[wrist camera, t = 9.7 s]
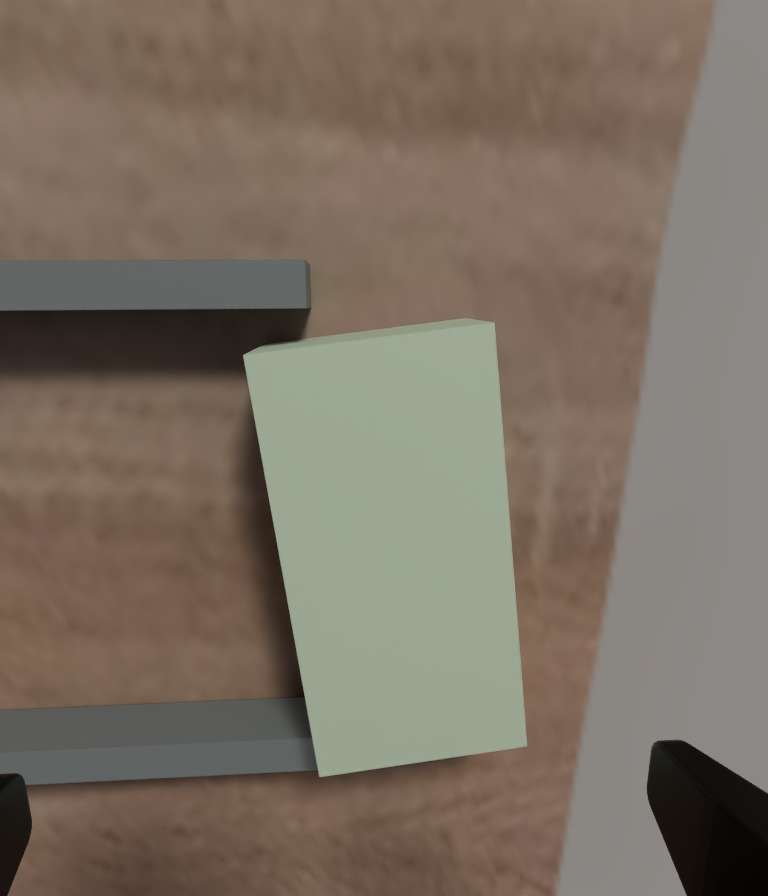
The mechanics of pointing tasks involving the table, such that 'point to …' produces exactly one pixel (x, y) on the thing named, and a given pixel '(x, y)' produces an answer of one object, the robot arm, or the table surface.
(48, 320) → the table surface
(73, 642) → the table surface
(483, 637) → the block
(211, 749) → the channel
